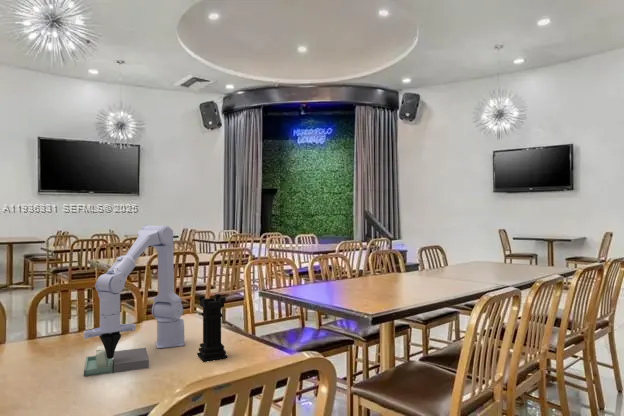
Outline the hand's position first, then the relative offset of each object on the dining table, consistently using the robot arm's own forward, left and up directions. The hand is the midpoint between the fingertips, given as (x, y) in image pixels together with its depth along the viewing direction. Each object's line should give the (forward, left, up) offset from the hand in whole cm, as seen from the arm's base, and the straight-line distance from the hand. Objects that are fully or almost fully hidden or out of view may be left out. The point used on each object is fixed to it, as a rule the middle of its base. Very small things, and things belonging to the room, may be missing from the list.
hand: (110, 357), depth 139 cm
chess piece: (-31, 0, -4) cm, 31 cm away
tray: (+3, -4, -4) cm, 6 cm away
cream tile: (+1, -7, -1) cm, 7 cm away
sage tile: (+1, -2, 0) cm, 2 cm away
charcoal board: (-6, -4, -4) cm, 8 cm away
